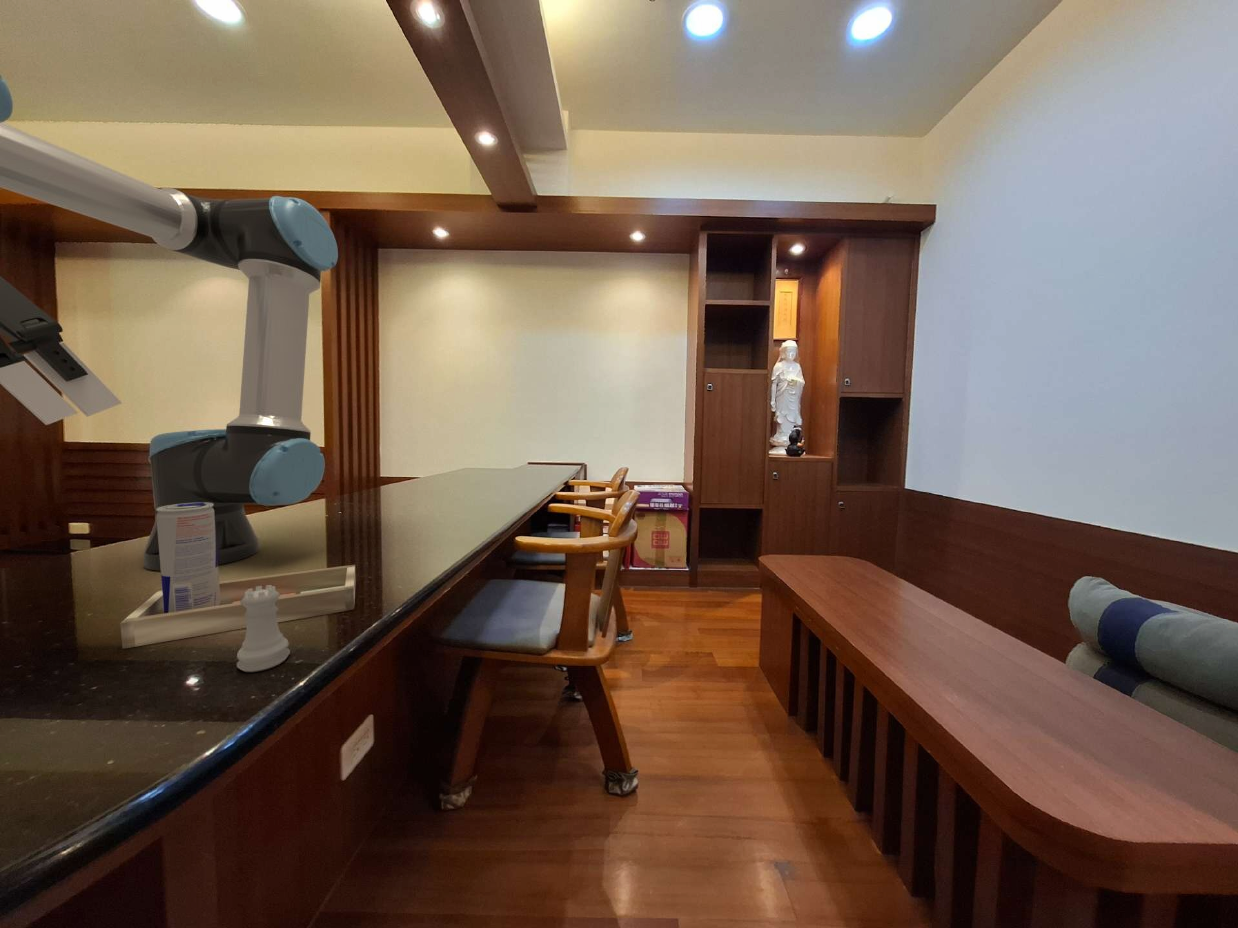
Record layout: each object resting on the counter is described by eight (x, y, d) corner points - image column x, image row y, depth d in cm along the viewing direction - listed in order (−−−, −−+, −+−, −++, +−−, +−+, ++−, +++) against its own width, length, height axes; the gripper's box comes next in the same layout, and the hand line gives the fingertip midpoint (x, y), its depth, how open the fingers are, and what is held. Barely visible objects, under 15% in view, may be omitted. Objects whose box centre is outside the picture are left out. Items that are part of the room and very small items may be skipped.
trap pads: (233, 603, 60) (233, 601, 60) (295, 594, 64) (295, 592, 64) (215, 628, 53) (215, 626, 53) (287, 617, 57) (287, 614, 57)
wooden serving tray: (162, 610, 58) (160, 589, 57) (355, 582, 69) (354, 564, 68) (122, 648, 48) (120, 622, 48) (354, 609, 59) (353, 588, 59)
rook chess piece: (260, 676, 44) (255, 600, 43) (224, 670, 44) (219, 595, 44) (301, 653, 48) (297, 583, 47) (268, 648, 49) (263, 580, 48)
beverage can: (220, 608, 59) (213, 499, 57) (222, 621, 55) (214, 505, 54) (166, 619, 55) (156, 503, 54) (164, 634, 52) (154, 510, 50)
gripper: (-232, 238, 39) (4, 438, 50) (-228, 139, 28) (76, 425, 38) (-101, 224, 44) (86, 407, 55) (-52, 136, 33) (170, 387, 44)
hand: (82, 415), depth 47 cm, fingers open, 13 cm apart
